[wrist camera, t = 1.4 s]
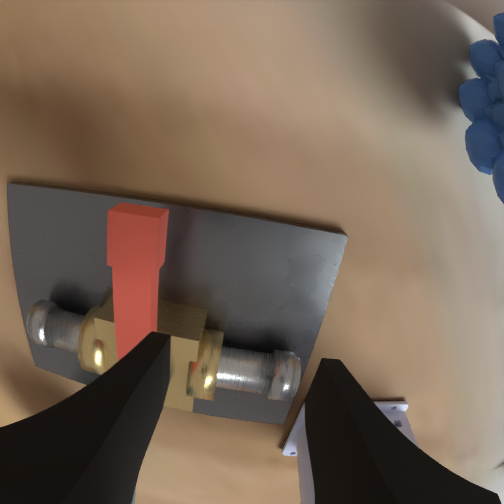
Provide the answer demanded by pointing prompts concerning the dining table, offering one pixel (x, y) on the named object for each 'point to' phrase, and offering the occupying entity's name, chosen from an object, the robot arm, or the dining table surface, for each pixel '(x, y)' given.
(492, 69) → the grapes
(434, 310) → the dining table surface
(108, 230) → the lever
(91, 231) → the valve body
